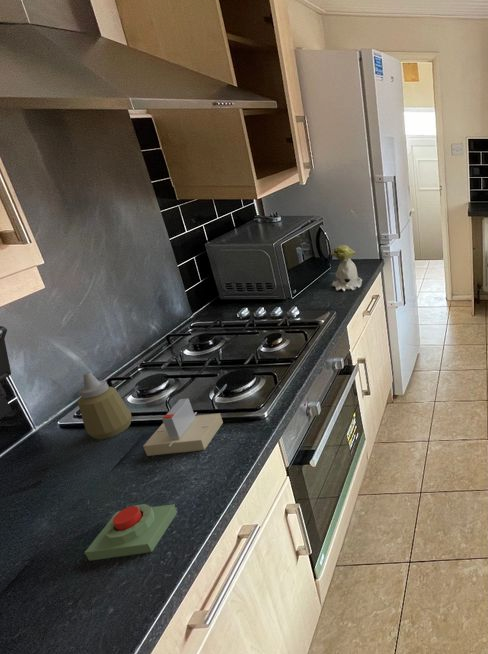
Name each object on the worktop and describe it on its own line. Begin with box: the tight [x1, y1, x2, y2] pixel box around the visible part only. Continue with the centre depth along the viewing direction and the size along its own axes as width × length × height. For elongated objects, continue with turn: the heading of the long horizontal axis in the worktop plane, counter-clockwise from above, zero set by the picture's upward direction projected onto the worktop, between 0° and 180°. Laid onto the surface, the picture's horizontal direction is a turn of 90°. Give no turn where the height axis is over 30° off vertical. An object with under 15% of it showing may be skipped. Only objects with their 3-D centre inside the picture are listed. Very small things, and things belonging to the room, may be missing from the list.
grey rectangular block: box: [162, 397, 196, 440], centre depth 97 cm, size 7×2×6 cm, turn 10°
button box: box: [84, 503, 178, 562], centre depth 77 cm, size 10×8×4 cm
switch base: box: [143, 411, 224, 457], centre depth 99 cm, size 12×11×3 cm
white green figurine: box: [330, 244, 363, 292], centre depth 180 cm, size 12×13×18 cm
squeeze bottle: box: [77, 371, 132, 440], centre depth 97 cm, size 8×8×18 cm
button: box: [113, 505, 142, 531], centre depth 76 cm, size 4×4×2 cm
